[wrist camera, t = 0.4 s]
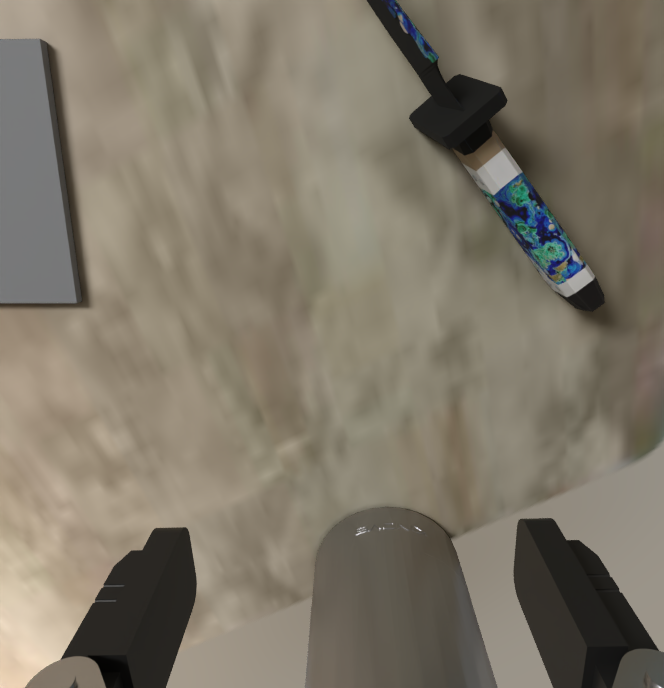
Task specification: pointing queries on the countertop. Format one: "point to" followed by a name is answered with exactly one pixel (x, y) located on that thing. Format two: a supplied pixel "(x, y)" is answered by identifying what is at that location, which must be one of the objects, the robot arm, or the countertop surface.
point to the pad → (32, 183)
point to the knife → (490, 161)
